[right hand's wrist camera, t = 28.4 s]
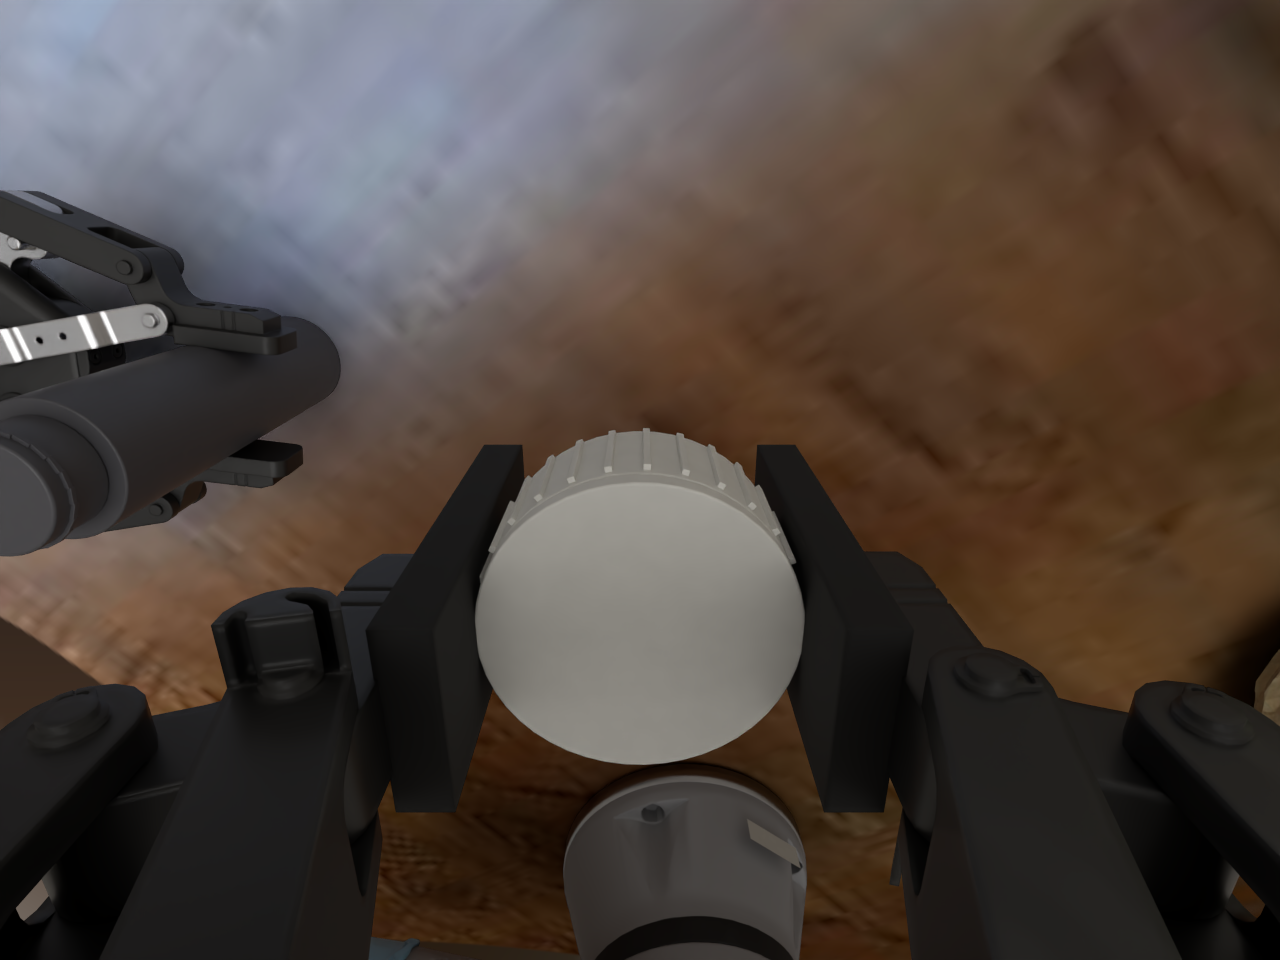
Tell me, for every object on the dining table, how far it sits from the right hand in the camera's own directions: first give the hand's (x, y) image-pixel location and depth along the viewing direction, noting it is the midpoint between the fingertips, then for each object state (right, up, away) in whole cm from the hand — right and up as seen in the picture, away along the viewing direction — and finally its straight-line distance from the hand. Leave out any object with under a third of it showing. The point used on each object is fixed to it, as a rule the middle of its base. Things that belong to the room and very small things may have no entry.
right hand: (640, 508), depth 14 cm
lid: (0, -2, -4) cm, 4 cm away
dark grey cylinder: (-17, +6, +20) cm, 27 cm away
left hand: (-14, +4, +14) cm, 20 cm away
